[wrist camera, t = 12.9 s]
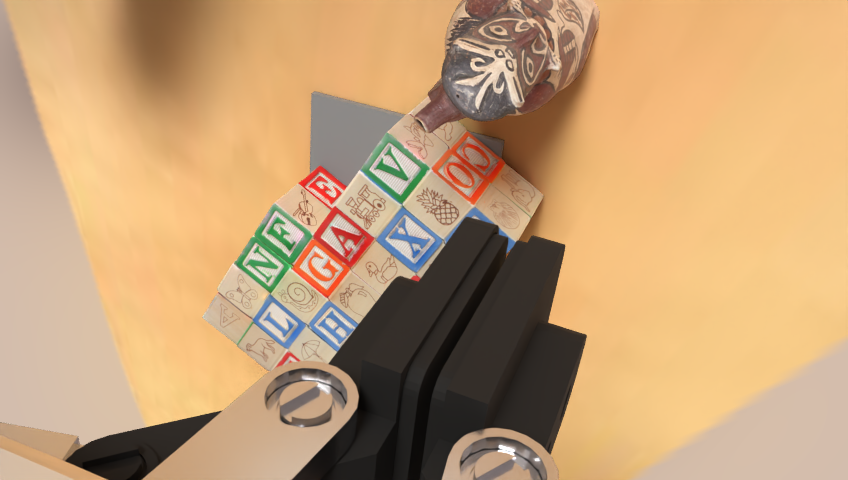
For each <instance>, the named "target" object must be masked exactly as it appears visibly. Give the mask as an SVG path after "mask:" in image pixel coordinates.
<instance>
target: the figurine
mask: <svg viewBox="0 0 848 480" xmlns="http://www.w3.org/2000/svg"><path fill="white" fill-rule="evenodd" d="M599 14H600V11H599V9H598V6H597V5H596V3H595V2H594V0H462V1H461V2H460V3H459V5H458V6H457V8H456V10H455V12H454V14H453V16H452V18H451V20H450V23H449V25H448V28H447V33H446V37H445V60H444V63H443V67H442V73H441V75H442V78H441V79H440V80H439V81H438V82H437V83H436V84H435V86H434V87H433V88H432V89H431V90H430V91H429V92H428V96H429V98H430V100H431V102H430V103H428V104H427V105H426V106H425V107H424V108H423V109H421V110H420V111H419V112H418V113H417V114H416V115H415V116H414V123H415V124H416V125H417V126H418V127H419V128H420V129H421V130H422V131H423V132H425V133H432V132H433V131H435V130H436V129H437V128H439V127H440V126H442V125H443V124H445V123H447V122H455V121H458V120H461V119H463V118H466V117H468V118H470V119H473V120H477V121H494V120H497V119H501V118H503V117H504V116H506V115H522V114H525V113H529V112H533V111H535V110H537V109H539V108H540V107H541V106H543V105H544V104H546V103H547V102H549V101H550V100H551V99H552V97H553V96H555V95H556V94H557V93H558V92H559V91H561V90H562V89H564V88H565V87H567V86H568V85H570V84H571V83H572V82H573V81H574V80H575V79H576V78H577V77H578V76H579V75H580V73H581V71H582V69H583V66H584V64H585V62H586V59H587V56H588V54H589V51H590V47H591V44H592V41H593V38H594V35H595V33H596V31H597V29H598V25H599Z"/></svg>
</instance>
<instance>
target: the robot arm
mask: <svg viewBox="0 0 848 480" xmlns="http://www.w3.org/2000/svg"><path fill="white" fill-rule="evenodd" d="M507 248H508V237H505V236H502V235H499V226H498V225H495V224H492V223H488V222H485V221H482V220H478V219H475V218H471V217H465V218H464V219H463V221H462V222H461V224H460V225H459V226H458V228H457V229H456V230H455V232H454V233H453V235H452V236H451V237H450V239H449V240H448V242H447V243H446V244H445V246H444V247H443V248H442V250H441V251H440V253H439V254H438V255H437V257H436V258H435V259H434V261H433V262H432V264H431V265H430V266H429V268H428V269H427V270H426V272H425V273H424V275H423V276H422V277H421V279H420V280H419V282H418V281H415V280H412V279H409V278H406V277H403V276H398V277H396V278H395V279H394V280H393V281H392V282H391V283H390V285H389V286H388V287H387V289H386V290H385V291H384V292H383V294H382V295H381V296H380V298H379V299H378V300H377V301H376V303H375V304H374V305H373V307H372V308H371V309H370V310H369V312H368V313H367V314H366V316H365V317H364V318H363V319H362V321H361V322H360V323H359V325H358V326H357V327H356V328H355V330H354V331H353V332H352V334H351V335H350V336H349V337H348V339H347V340H346V341H345V343H344V344H343V345H342V346H341V348H340V349H339V350H338V352H337V353H336V354H335V355H334V357H333V358H332V359H331V361H330V362H329V363H328V364H326V363H324V362H316V361H298V362H291V363H288V364H285V365H282V366H279V367H276V368H275V369H273V370H272V371H270V372H269V373H267V374H265V375H264V376H263V377H262V378H261V379H259V380H258V381H257V382H256V383H255V384H254V385H252V386H251V387H250V388H249V389H248V390H247V391H245V392H244V393H243V394H242V395H241V396H240V397H238V398H237V399H236V400H235V401H234V402H232V403H231V404H230V405H229V406H228V407H227V408H225V409H224V410H223V411H219V412H214V413H209V414H205V415H200V416H196V417H191V418H187V419H182V420H178V421H173V422H168V423H164V424H159V425H155V426H150V427H146V428H141V429H137V430H132V431H127V432H123V433H119V434H114V435H109V436H106V437H103V438H100V439H97V440H94V441H91V442H90V443H88V444H86V445H80V443H79V438H78V436H74V435H69V434H63V433H57V432H51V431H46V430H41V429H35V428H29V427H24V426H18V425H13V424H7V423H2V422H0V480H559V474H558V469H557V467H556V465H555V462H554V460H553V458H552V456H551V455H550V454H551V451H552V448H553V446H554V443H555V440H556V437H557V434H558V431H559V428H560V426H561V423H562V420H563V417H564V414H565V411H566V408H567V404H568V401H569V398H570V395H571V392H572V388H573V385H574V382H575V378H576V375H577V371H578V367H579V364H580V360H581V356H582V353H583V349H584V345H585V341H586V337H587V335H585V334H582V333H579V332H576V331H572V330H569V329H566V328H563V327H560V326H557V325H554V324H550V323H548V320H549V315H550V311H551V307H552V303H553V298H554V294H555V290H556V286H557V281H558V277H559V273H560V269H561V264H562V260H563V256H564V251H565V245H564V244H561V243H558V242H554V241H551V240H547V239H544V238H540V237H537V236H531V238H530V240H529V241H528V243H526V242H523V241H519V240H517V241H516V243H515V244H514V246H513V248H512V250H511V251H510V253H509V255H508V256H507V258H506V253H507ZM505 259H506V260H505Z"/></svg>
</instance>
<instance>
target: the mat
mask: <svg viewBox="0 0 848 480" xmlns="http://www.w3.org/2000/svg"><path fill="white" fill-rule="evenodd" d="M404 116H405V115H404V114H400V113H396V112H393V111H389V110H385V109H381V108H377V107H373V106H369V105H365V104H362V103H358V102H354V101H350V100H346V99H342V98H338V97H335V96H331V95H327V94H323V93H319V92H315V91H314V92H313V93H312V99H311V147H310V173H311V172H312V171H314V170H315V169H316V168H317V167H318V166H322V167H323V168H325V169H326V170H327V171H328V172H329V173H331V174H332V175H333V176H334V177H335V178H337V179H338V180H339V181H340V182H342V183H343V184H344V185H346V186H348V185H349V184H350V182H351V181H352V180H353V178H354V177H355V175H356V174H357V173H358V171H359V170H360V169H361V168H362V166H363V165H364V163H365V162H366V160H367V159H368V157H369V156H370V155H371V153H372V152H373V150H374V149H375V147H376V146H377V145H378V143H379V142H380V141H381V139H382V138H383V137H384V135H385V134H386V133H387V132H388V131H389V130H390V129H391V128H392V127H393V126H394V125H395V124H396V123H398V122H399V121H400V120H401V119H402V118H403V117H404ZM468 132H469V133H470V134H472V135H473V136H474V137H476V138H477V139H478V140H479V141H481V142H482V143H483V144H484V145H485V146H487V147H488V148H489V149H490V150H491V151H493V152H494V153H495V154H496V155H498V156H499V157H500V158H501V157H502V151H503V145H504V140H501V139H497V138H493V137H489V136H485V135H481V134H478V133H474V132H470V131H468Z"/></svg>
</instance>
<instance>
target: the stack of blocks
mask: <svg viewBox="0 0 848 480" xmlns="http://www.w3.org/2000/svg"><path fill="white" fill-rule="evenodd" d="M430 102H431V100H430V98H429V97H426V98H425V99H424V100H423V101H422V102H421V103H420V104H419V105H417V106H416V107H415V108H414V109H413V110H412V111H411V112H410V113H409V114H406V115H405V116H404V117H403V118H402V119H401V120H400V121H399V122H398V123H396V124H395V125H394V126H393V127H392V128H391V129H390V130H389V131H388V132H387V133H386V134H385V135H384V137H383V138H382V139H381V141H380V142H379V143H378V145H377V146H376V147H375V149H374V150H373V152H372V153H371V155H370V156H369V157H368V159H367V160H366V162H365V163H364V165H363V166H362V168H361V169H360V170H359V171H358V173H357V174H356V175H355V177H354V178H353V180H352V181H351V182H350V184H349V185H348V186H346V185H344V184H343V183H342V182H340V181H339V180H338V179H337V178H335V177H334V176H333V175H332V174H331V173H329V172H328V171H327V170H326V169H325V168H323V167H322V166H318V167H317V168H316V169H315V170H314V171H312V172H311V173H310V174H309V175H308V176H307V177H306V178H304V179H303V180H302V181H301V182H299V183H298V184H297V185H296V186H294V187H293V188H292V189H291V190H289V191H288V192H287V193H286V194H284V195H283V196H282V197H281V198H279V199H278V200H277V201H276V202H275V203H274V204H273V205H272V206H271V208H270V210H269V211H268V213H267V214H266V216H265V217H264V219H263V221H262V222H261V224H260V225H259V227H258V228H257V230H256V232H255V235H253V236H252V238H251V239H250V241H249V242H248V244H247V245H246V247H245V248H244V250H243V251H242V253H241V254H240V256H239V257H238V259H237V260H236V261H235V262H234V263H233V264H232V266H231V267H230V269H229V270H228V272H227V273H226V275H225V277H224V278H223V280H222V281H221V283H220V285H219V286H218V288H217V290H218V293H217V294H216V296H215V298H214V299H213V301H212V302H211V304H210V306H209V307H208V309H207V310H206V312H205V314H204V315H203V317H202V318H203V319H205V320H206V321H207V322H208V323H210V324H211V325H212V326H213V327H215V328H216V329H217V330H218V331H220V332H221V333H222V334H224V335H225V336H226V337H227V338H229V339H230V340H231V341H233V342H234V343H235V344H236V345H237V346H238V347H239V348H240V349H241V350H243V351H244V352H246V353H247V355H248V356H250V357H251V358H253V359H254V360H255V361H256V362H257V363H258V364H260V365H261V366H262V367H264V368H265V369H266V370H268V371H272V370H273V369H275V368H276V367H279V366H282V365H285V364H288V363H291V362H298V361H316V362H324V363H326V364H328V363H329V362H330V361H331V359H332V358H333V357H334V355H335V354H336V353H337V352H338V350H339V349H340V348H341V346H342V345H343V344H344V343H345V341H346V340H347V339H348V337H349V336H350V335H351V334H352V332H353V331H354V330H355V328H356V327H357V326H358V325H359V323H360V322H361V321H362V319H363V318H364V317H365V316H366V314H367V313H368V312H369V310H370V309H371V308H372V307H373V305H374V304H375V303H376V301H377V300H378V299H379V298H380V296H381V295H382V294H383V292H384V291H385V290H386V289H387V287H388V286H389V285H390V283H391V282H392V281H393V280H394V279H395V278H396V277H398V276H403V277H406V278H409V279H412V280H415V281H418V282H419V280H420V279H421V277H422V276H423V275H424V273H425V272H426V270H427V269H428V268H429V266H430V265H431V264H432V262H433V261H434V259H435V258H436V257H437V255H438V254H439V253H440V251H441V250H442V248H443V247H444V246H445V244H446V243H447V242H448V240H449V239H450V237H451V236H452V235H453V233H454V232H455V230H456V229H457V228H458V226H459V225H460V224H461V222H462V221H463V219H464V218H465V217H471V218H475V219H478V220H482V221H485V222H488V223H492V224H495V225H498V226H499V235H502V236H505V237H508V248H507V253H508V252H509V251H510V250H511V249H512V248H513V246H514V244H515V243H516V241H517V240H519V238H520V237H521V235H522V233H523V232H524V230H525V228H526V226H527V225H528V223H529V221H530V219H531V217H532V216H533V214H534V213H535V211H536V209H537V207H538V205H539V204H540V202H541V200H542V199H543V197H544V196H543V194H542V193H541V192H540V191H539V190H537V189H536V188H535V187H534V186H533V185H532V184H530V183H529V182H528V181H527V180H525V179H524V178H523V177H522V176H520V175H519V174H518V173H517V172H515V171H514V170H513V169H512V168H511V167H509V166H508V165H506V164H505V161H504V160H502V159H501V158H500V157H499V156H498V155H496V154H495V153H494V152H493V151H491V150H490V149H489V148H488V147H487V146H485V145H484V144H483V143H482V142H481V141H479V140H478V139H477V138H476V137H474V136H473V135H472V134H470V133H469V132H468V131H466V128H465V127H464V126H463V125H462V124H461V123H460V122H458V121H455V122H447V123H445V124H443V125H442V126H440V127H439V128H437V129H436V130H435V131H433V132H432V133H425V132H423V131H422V130H421V129H420V128H419V127H418V126H417V125H416V124H415V123H414V116H415V115H416V114H417V113H418V112H419V111H420V110H421V109H423V108H424V107H425V106H426V105H427V104H428V103H430ZM507 253H506V254H507Z"/></svg>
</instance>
